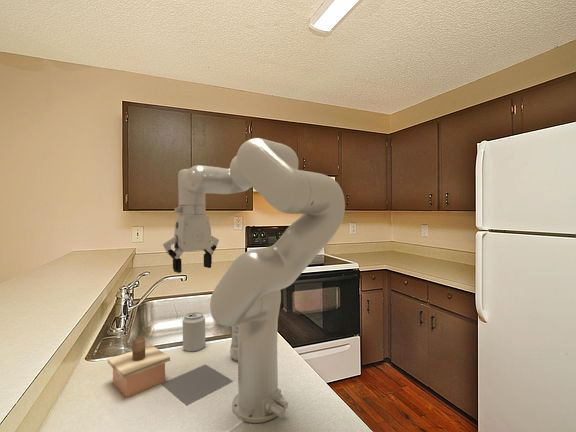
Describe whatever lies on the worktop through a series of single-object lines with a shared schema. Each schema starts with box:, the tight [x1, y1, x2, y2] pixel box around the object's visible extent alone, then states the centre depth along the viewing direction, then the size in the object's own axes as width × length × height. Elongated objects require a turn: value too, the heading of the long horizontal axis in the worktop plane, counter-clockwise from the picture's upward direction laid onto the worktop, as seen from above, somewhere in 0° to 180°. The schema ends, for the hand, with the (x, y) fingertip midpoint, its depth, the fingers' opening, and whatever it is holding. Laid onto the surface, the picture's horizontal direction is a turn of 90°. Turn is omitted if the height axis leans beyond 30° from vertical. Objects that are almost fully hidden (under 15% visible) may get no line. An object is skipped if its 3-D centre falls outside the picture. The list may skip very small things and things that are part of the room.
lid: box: [107, 337, 171, 379], centre depth 84 cm, size 12×12×6 cm
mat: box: [160, 364, 234, 406], centre depth 83 cm, size 14×14×1 cm
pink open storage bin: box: [112, 363, 166, 398], centre depth 84 cm, size 10×10×6 cm
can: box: [182, 311, 206, 352], centre depth 105 cm, size 8×8×12 cm
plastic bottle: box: [229, 324, 240, 362], centre depth 97 cm, size 6×7×20 cm
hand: (193, 269), depth 89 cm, fingers open, 9 cm apart
